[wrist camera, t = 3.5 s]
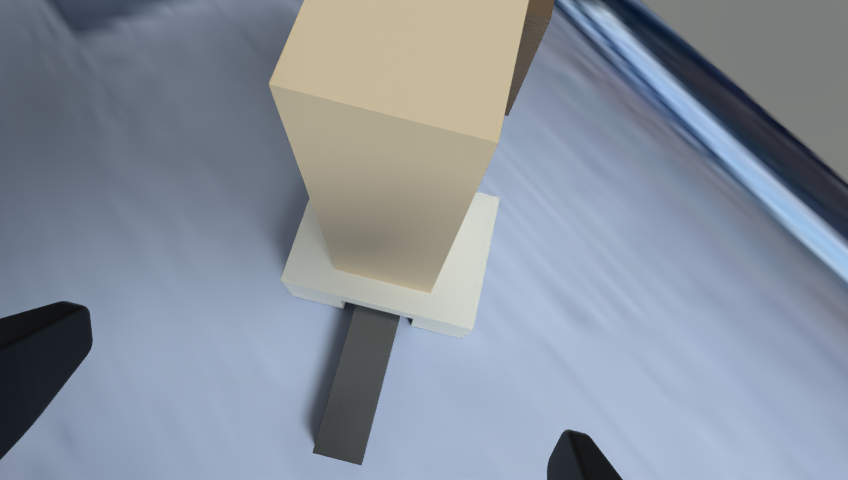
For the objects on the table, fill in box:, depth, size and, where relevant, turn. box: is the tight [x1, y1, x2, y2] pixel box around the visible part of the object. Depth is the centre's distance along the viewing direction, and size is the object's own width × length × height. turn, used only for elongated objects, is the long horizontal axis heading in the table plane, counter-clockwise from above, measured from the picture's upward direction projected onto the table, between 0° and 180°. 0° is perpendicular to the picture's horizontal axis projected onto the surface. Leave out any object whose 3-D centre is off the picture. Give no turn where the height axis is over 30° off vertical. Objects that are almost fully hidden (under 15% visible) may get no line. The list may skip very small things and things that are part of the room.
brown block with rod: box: [313, 0, 554, 465], centre depth 20 cm, size 22×8×7 cm, turn 166°
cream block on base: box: [269, 0, 529, 339], centre depth 16 cm, size 6×8×15 cm
